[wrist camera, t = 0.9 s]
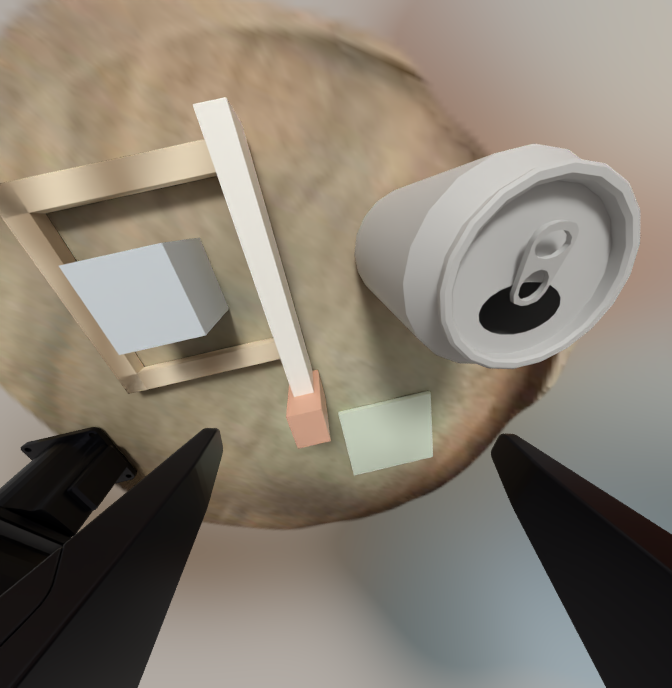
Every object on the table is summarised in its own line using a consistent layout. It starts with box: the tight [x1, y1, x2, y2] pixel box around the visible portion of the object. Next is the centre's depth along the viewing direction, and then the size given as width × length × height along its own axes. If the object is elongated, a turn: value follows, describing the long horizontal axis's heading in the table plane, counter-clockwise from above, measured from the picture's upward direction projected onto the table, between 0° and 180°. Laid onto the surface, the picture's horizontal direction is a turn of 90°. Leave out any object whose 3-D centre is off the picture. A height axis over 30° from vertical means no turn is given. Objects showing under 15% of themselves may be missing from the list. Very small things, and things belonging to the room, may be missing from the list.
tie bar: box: [193, 97, 331, 449], centre depth 16 cm, size 2×20×5 cm, turn 12°
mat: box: [338, 391, 433, 475], centre depth 26 cm, size 9×9×1 cm
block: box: [59, 238, 229, 355], centre depth 15 cm, size 5×5×5 cm
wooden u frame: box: [0, 139, 281, 394], centre depth 17 cm, size 12×14×1 cm
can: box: [355, 144, 640, 369], centre depth 13 cm, size 8×8×12 cm
